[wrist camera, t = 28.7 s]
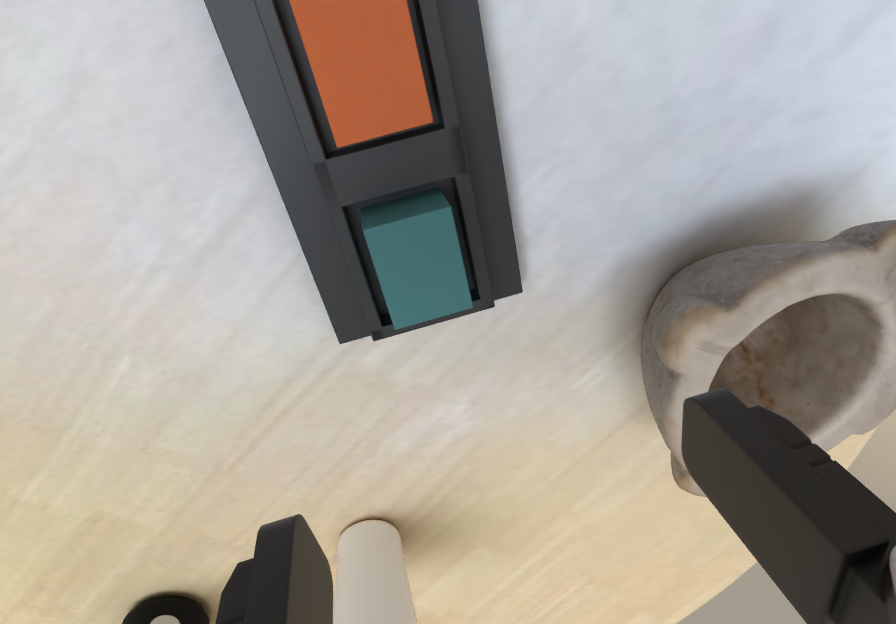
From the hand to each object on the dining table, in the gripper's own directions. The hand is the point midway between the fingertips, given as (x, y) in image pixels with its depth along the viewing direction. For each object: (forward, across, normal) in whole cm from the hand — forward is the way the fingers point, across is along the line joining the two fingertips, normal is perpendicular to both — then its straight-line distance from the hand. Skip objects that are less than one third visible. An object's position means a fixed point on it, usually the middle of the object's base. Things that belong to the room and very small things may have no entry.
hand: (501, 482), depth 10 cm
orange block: (+20, 0, -7) cm, 22 cm away
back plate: (+22, 0, -2) cm, 22 cm away
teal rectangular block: (+20, 0, +3) cm, 21 cm away
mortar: (+22, -20, +15) cm, 33 cm away
